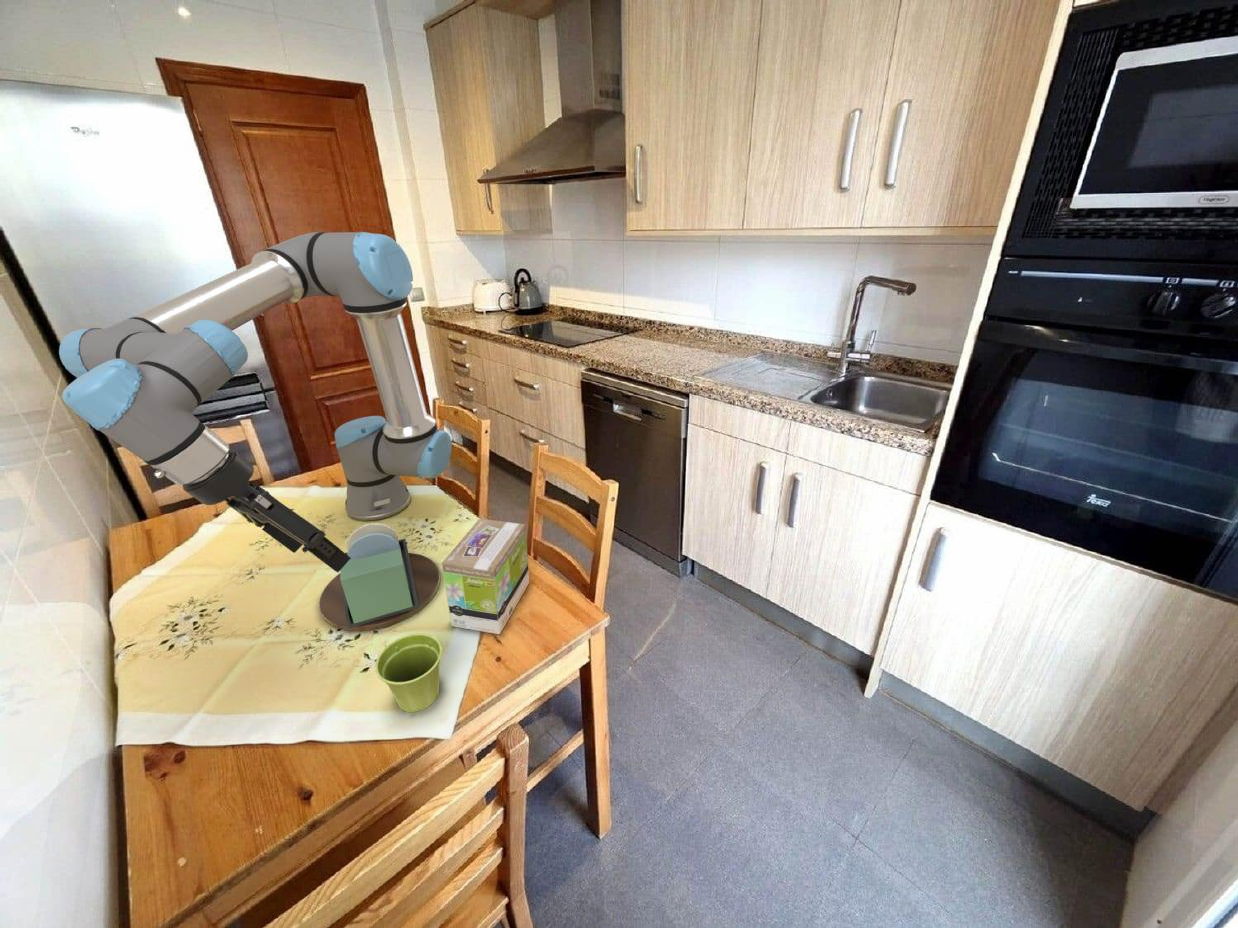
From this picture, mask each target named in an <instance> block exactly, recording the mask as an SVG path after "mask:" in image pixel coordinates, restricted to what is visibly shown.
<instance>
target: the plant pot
mask: <svg viewBox="0 0 1238 928" xmlns="http://www.w3.org/2000/svg"><path fill="white" fill-rule="evenodd" d="M442 656H443V646H442V643H441V642H440V640H439V639H438V638H437V637H436V636H434V635H432V634H429V633H411V634H407V635H404V636H401V637H399V638H396V639H395V640H393V641H392V642H390V643H389V644H388V645H386V647H384V648H383V649H382V650H381V652H380V653H379V655H378V657H377V659H376V661H375V666H374V668H375V673H376V675H377V677H378V679H379V680H380V681H382V682H383V683H385V684H386V685H387V687H388V688H389V690H390V692H391V693H392V695H393V698H395V701H396V703H397V705H398V706H399V708H400V709H401V710H402V711H403V712H407V713H415V712H417V711H423V710H426V709H427V708H429V707H430V706H431V705H433V704H434V703H435V701H436V700H437V698H438V696H439V693H440V676H439V675H440V674H439V672H440V671H439V669H440V668H439V665H440V663H441V659H442Z"/></svg>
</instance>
